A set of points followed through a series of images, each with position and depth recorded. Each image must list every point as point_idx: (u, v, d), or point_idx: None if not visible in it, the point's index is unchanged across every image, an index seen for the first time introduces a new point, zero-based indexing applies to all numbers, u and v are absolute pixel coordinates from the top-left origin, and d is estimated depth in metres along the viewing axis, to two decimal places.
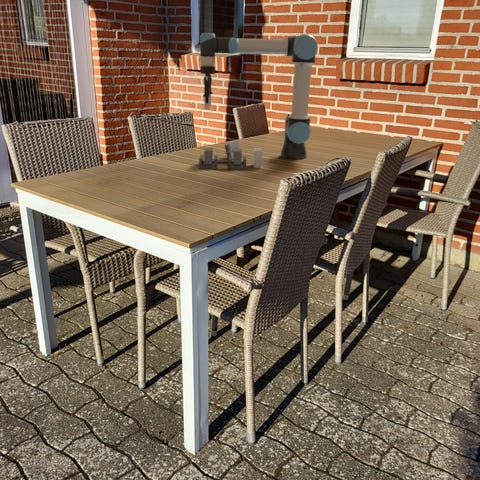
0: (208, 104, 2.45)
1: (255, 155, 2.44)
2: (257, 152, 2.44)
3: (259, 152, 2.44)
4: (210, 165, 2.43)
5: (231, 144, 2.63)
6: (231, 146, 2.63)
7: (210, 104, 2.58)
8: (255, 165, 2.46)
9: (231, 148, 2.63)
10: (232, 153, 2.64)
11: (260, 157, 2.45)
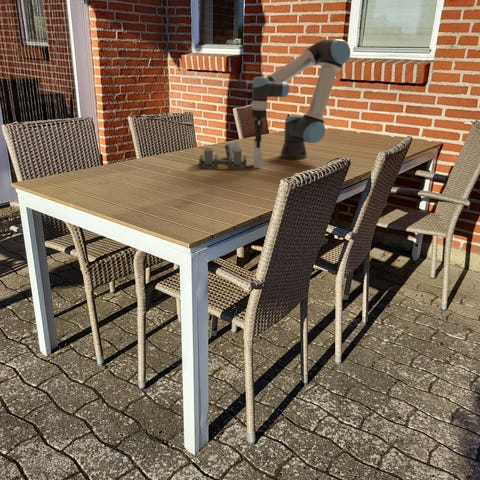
0: (259, 148, 2.40)
1: (255, 155, 2.44)
2: None
3: None
4: (210, 165, 2.43)
5: (231, 144, 2.63)
6: (231, 146, 2.63)
7: None
8: (255, 165, 2.46)
9: (231, 148, 2.63)
10: (232, 153, 2.64)
11: (260, 157, 2.45)
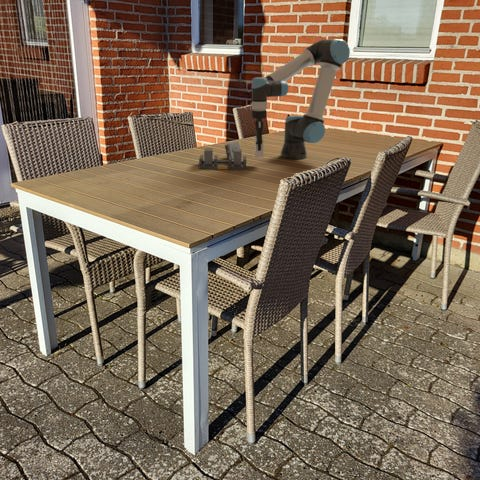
0: (260, 151, 2.43)
1: (256, 144, 2.42)
2: None
3: None
4: (210, 165, 2.43)
5: (231, 144, 2.63)
6: (231, 146, 2.63)
7: None
8: None
9: (231, 148, 2.63)
10: (232, 153, 2.64)
11: (262, 146, 2.43)
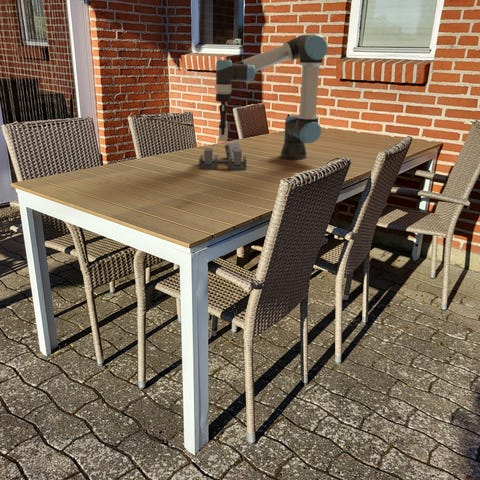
0: (224, 135, 2.38)
1: None
2: None
3: None
4: (210, 165, 2.43)
5: (231, 144, 2.63)
6: (231, 146, 2.63)
7: None
8: None
9: (231, 148, 2.63)
10: (232, 153, 2.64)
11: None
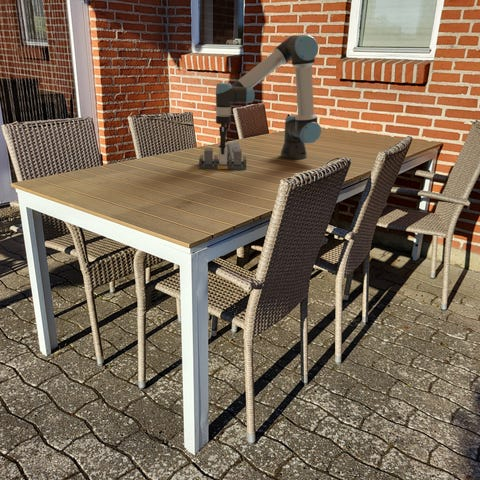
0: (224, 155, 2.39)
1: None
2: None
3: None
4: (210, 165, 2.43)
5: (231, 144, 2.63)
6: (231, 146, 2.63)
7: None
8: (220, 164, 2.44)
9: (231, 148, 2.63)
10: (232, 153, 2.64)
11: (225, 155, 2.42)
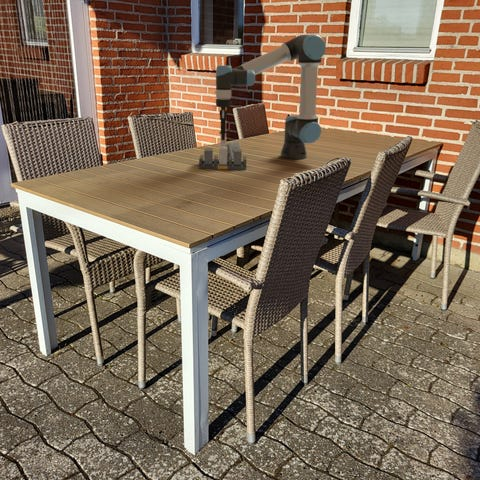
0: (224, 141, 2.43)
1: (220, 154, 2.42)
2: (222, 150, 2.41)
3: (224, 150, 2.41)
4: (210, 165, 2.43)
5: (231, 144, 2.63)
6: (231, 146, 2.63)
7: None
8: (220, 164, 2.44)
9: (231, 148, 2.63)
10: (232, 153, 2.64)
11: (225, 155, 2.42)
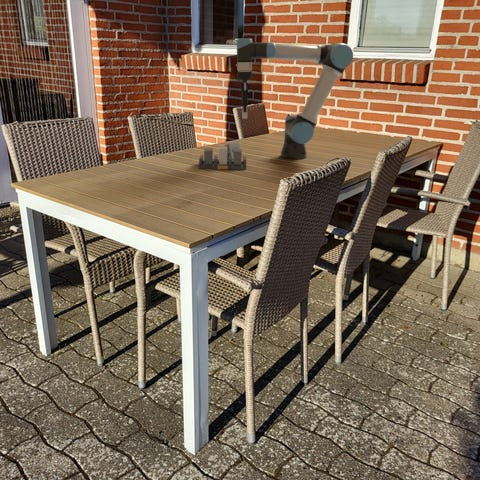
0: (246, 113, 2.50)
1: (220, 154, 2.42)
2: (222, 150, 2.41)
3: (224, 150, 2.41)
4: (210, 165, 2.43)
5: (231, 144, 2.63)
6: (231, 146, 2.63)
7: (246, 115, 2.51)
8: (220, 164, 2.44)
9: (231, 148, 2.63)
10: (232, 153, 2.64)
11: (225, 155, 2.42)
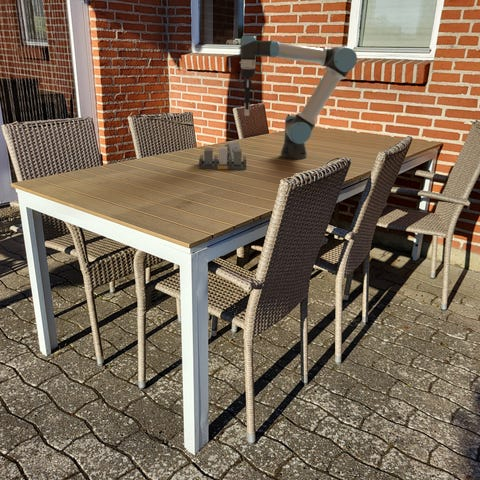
0: (248, 110, 2.52)
1: (220, 154, 2.42)
2: (222, 150, 2.41)
3: (224, 150, 2.41)
4: (210, 165, 2.43)
5: (231, 144, 2.63)
6: (231, 146, 2.63)
7: (248, 113, 2.53)
8: (220, 164, 2.44)
9: (231, 148, 2.63)
10: (232, 153, 2.64)
11: (225, 155, 2.42)
